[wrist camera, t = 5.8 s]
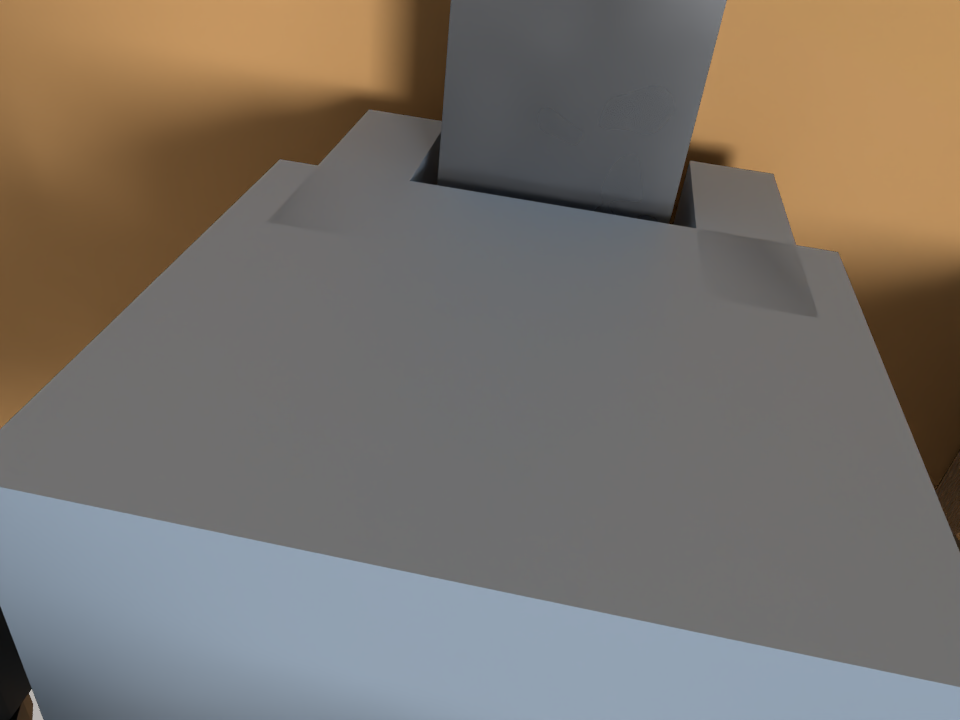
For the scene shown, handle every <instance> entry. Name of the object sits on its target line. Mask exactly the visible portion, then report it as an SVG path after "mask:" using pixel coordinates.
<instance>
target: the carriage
mask: <svg viewBox="0 0 960 720" xmlns="http://www.w3.org/2000/svg"><path fill="white" fill-rule="evenodd" d="M441 128H442V121H439V120H432V119H426V118H420V117H414V116H407V115H401V114H395V113H389V112H382V111H376V110H370V109H369V110H368V111H367V112H366V113H365V114H364V116H363V117H362V118H361V119H360V120H359V121H358V122H357V123H356V124H355V125H354V126H353V128H352V129H351V130H350V131H349V132H348V133H347V134H346V135H345V136H344V137H343V138H342V140H341V141H340V142H339V143H338V144H337V145H336V146H335V147H334V148H333V149H332V150H331V152H330V153H329V154H328V155H327V156H326V157H325V158H324V159H323V160H322V161H321V162H320V164H319V165H312V164H306V163H300V162H294V161H288V160H282V159H280V160H279V161H278V162H277V163H276V164H275V165H273V166H272V167H271V168H270V169H269V170H268V171H267V172H266V173H265V174H264V175H263V176H262V177H261V178H260V179H259V180H258V181H257V182H256V183H255V184H254V185H253V186H252V187H251V188H250V189H249V190H248V191H247V192H246V193H244V194H243V195H242V196H241V197H240V198H239V199H238V200H237V201H236V202H235V203H234V204H233V205H232V206H231V207H230V208H229V209H228V210H227V211H226V212H225V213H224V214H223V215H222V216H221V217H220V218H219V219H218V220H216V221H215V222H214V223H213V224H212V225H211V226H210V227H209V228H208V229H207V230H206V231H205V232H204V233H203V234H202V235H201V236H200V237H199V238H198V239H197V240H196V241H195V242H194V243H193V244H192V245H191V246H190V247H189V248H187V249H186V250H185V251H184V252H183V253H182V254H181V255H180V256H179V257H178V258H177V259H176V260H175V261H174V262H173V263H172V264H171V265H170V266H169V267H168V268H167V269H166V270H165V271H164V272H163V273H162V274H161V275H160V276H158V277H157V278H156V279H155V280H154V281H153V282H152V283H151V284H150V285H149V286H148V287H147V288H146V289H145V290H144V291H143V292H142V293H141V294H140V295H139V296H138V297H137V298H136V299H135V300H134V301H133V302H132V303H130V304H129V305H128V306H127V307H126V308H125V309H124V310H123V311H122V312H121V313H120V314H119V315H118V316H117V317H116V318H115V319H114V320H113V321H112V322H111V323H110V324H109V325H108V326H107V327H106V328H105V329H104V330H103V331H101V332H100V333H99V334H98V335H97V336H96V337H95V338H94V339H93V340H92V341H91V342H90V343H89V344H88V345H87V346H86V347H85V348H84V349H83V350H82V351H81V352H80V353H79V354H78V355H77V356H76V357H75V358H74V359H72V360H71V361H70V362H69V363H68V364H67V365H66V366H65V367H64V368H63V369H62V370H61V371H60V372H59V373H58V374H57V375H56V376H55V377H54V378H53V379H52V380H51V381H50V382H49V383H48V384H47V385H46V386H44V387H43V388H42V389H41V390H40V391H39V392H38V393H37V394H36V395H35V396H34V397H33V398H32V399H31V400H30V401H29V402H28V403H27V404H26V405H25V406H24V407H23V408H22V409H21V410H20V411H19V412H18V413H17V414H15V415H14V416H13V417H12V418H11V419H10V420H9V421H8V422H7V423H6V424H5V425H4V426H3V427H2V428H1V429H0V607H1V609H2V612H3V615H4V617H5V620H6V622H7V625H8V628H9V630H10V633H11V635H12V638H13V641H14V643H15V646H16V649H17V651H18V654H19V656H20V659H21V662H22V664H23V667H24V670H25V672H26V675H27V677H28V680H29V683H30V685H31V688H32V690H33V693H34V696H35V698H36V701H37V703H38V706H39V709H40V711H41V714H42V716H43V719H44V720H960V552H959V549H958V547H957V544H956V542H955V539H954V537H953V534H952V532H951V529H950V527H949V524H948V522H947V519H946V517H945V515H944V512H943V510H942V507H941V505H940V502H939V500H938V497H937V495H936V492H935V490H934V487H933V485H932V482H931V480H930V478H929V475H928V473H927V470H926V468H925V465H924V463H923V460H922V458H921V455H920V453H919V450H918V448H917V445H916V443H915V441H914V438H913V436H912V433H911V431H910V428H909V426H908V423H907V421H906V418H905V416H904V413H903V411H902V408H901V406H900V404H899V401H898V399H897V396H896V394H895V391H894V389H893V386H892V384H891V381H890V379H889V376H888V374H887V371H886V369H885V367H884V364H883V362H882V359H881V357H880V354H879V352H878V349H877V347H876V344H875V342H874V339H873V337H872V335H871V332H870V330H869V327H868V325H867V322H866V320H865V317H864V315H863V312H862V310H861V307H860V305H859V302H858V300H857V298H856V295H855V293H854V290H853V288H852V285H851V283H850V280H849V278H848V275H847V273H846V270H845V268H844V265H843V263H842V261H841V258H840V256H839V253H838V252H834V251H828V250H822V249H816V248H810V247H804V246H798V245H796V244H795V240H794V237H793V234H792V231H791V228H790V225H789V221H788V218H787V215H786V212H785V209H784V206H783V203H782V199H781V196H780V193H779V190H778V187H777V184H776V181H775V177H774V174H771V173H764V172H758V171H752V170H746V169H739V168H733V167H727V166H721V165H714V164H708V163H702V162H695V161H690V162H689V165H688V169H687V173H686V177H685V181H684V185H683V188H682V192H681V196H680V200H679V204H678V208H677V211H676V215H675V219H674V223H673V225H672V224H666V223H660V222H654V221H648V220H642V219H636V218H630V217H624V216H618V215H612V214H606V213H600V212H594V211H588V210H582V209H576V208H570V207H564V206H558V205H552V204H546V203H540V202H534V201H528V200H522V199H516V198H510V197H504V196H498V195H492V194H486V193H480V192H474V191H468V190H462V189H456V188H450V187H444V186H438V185H437V183H438V169H439V156H440V142H441Z"/></svg>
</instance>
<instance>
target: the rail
mask: <svg viewBox="0 0 960 720" xmlns="http://www.w3.org/2000/svg"><path fill="white" fill-rule="evenodd" d="M726 1H727V0H451V6H450V20H449V33H448V47H447V60H446V74H445V88H444V101H443V115H442V128H441V142H440V156H439V169H438V183H437V185H438V186H444V187H450V188H456V189H462V190H468V191H474V192H480V193H486V194H492V195H498V196H504V197H510V198H516V199H522V200H528V201H534V202H540V203H546V204H552V205H558V206H564V207H570V208H576V209H582V210H588V211H594V212H600V213H606V214H612V215H618V216H624V217H630V218H636V219H642V220H648V221H654V222H660V223H666V224H669V222H670V218H671V214H672V210H673V206H674V202H675V199H676V195H677V191H678V187H679V183H680V179H681V175H682V171H683V168H684V164H685V160H686V156H687V152H688V148H689V144H690V140H691V137H692V133H693V129H694V125H695V121H696V117H697V113H698V109H699V105H700V102H701V98H702V94H703V90H704V86H705V82H706V78H707V74H708V71H709V67H710V63H711V59H712V55H713V51H714V47H715V43H716V40H717V36H718V32H719V28H720V24H721V20H722V16H723V12H724V8H725V5H726Z"/></svg>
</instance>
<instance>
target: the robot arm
mask: <svg viewBox="0 0 960 720" xmlns="http://www.w3.org/2000/svg"><path fill="white" fill-rule="evenodd" d="M951 532H952V531H951ZM952 534H953V532H952ZM953 537H954V539H955V542H956V544H957V547H958V549H959V552H960V540H959V539H958V538H957V537H956V536H955V535H954V534H953ZM31 689H32V688H31V685H30V683H29V680H28V677H27V675H26V672H25V670H24V667H23V664H22V662H21V659H20V656H19V654H18V651H17V649H16V646H15V643H14V641H13V638H12V635H11V633H10V630H9V628H8V625H7V622H6V620H5V617H4V615H3V612H2V609H1V607H0V720H32V716H33V715H32V714H33V703H32V700H31V698H30V695H29V692H30V690H31Z"/></svg>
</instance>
